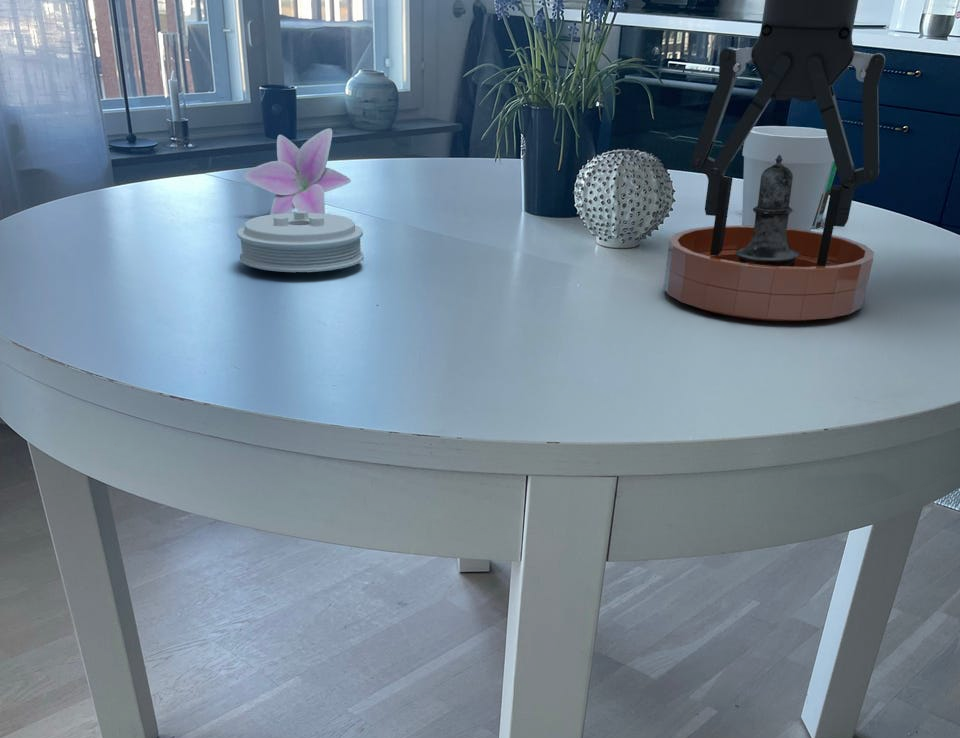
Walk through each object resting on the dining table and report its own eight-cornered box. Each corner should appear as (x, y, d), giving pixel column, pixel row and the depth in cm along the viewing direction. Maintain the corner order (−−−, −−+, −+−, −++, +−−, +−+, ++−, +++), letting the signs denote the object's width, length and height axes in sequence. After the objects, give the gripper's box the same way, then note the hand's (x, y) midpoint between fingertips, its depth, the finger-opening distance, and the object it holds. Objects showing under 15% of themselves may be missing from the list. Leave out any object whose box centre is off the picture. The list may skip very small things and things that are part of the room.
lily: (240, 224, 128) (226, 157, 120) (302, 175, 133) (293, 107, 124) (311, 267, 125) (302, 201, 116) (373, 216, 130) (368, 149, 121)
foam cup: (760, 276, 106) (783, 139, 99) (709, 257, 113) (727, 127, 106) (832, 269, 109) (859, 135, 102) (778, 251, 116) (800, 125, 109)
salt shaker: (778, 283, 100) (796, 149, 94) (804, 297, 96) (825, 157, 89) (722, 286, 100) (736, 152, 93) (745, 300, 95) (761, 159, 88)
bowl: (865, 287, 103) (877, 235, 100) (856, 336, 88) (869, 277, 85) (683, 269, 108) (689, 219, 105) (646, 312, 93) (652, 255, 90)
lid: (215, 272, 103) (209, 219, 100) (287, 248, 112) (283, 200, 110) (321, 288, 98) (317, 233, 95) (386, 262, 108) (385, 211, 105)
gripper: (676, -31, 84) (646, 254, 96) (958, -25, 78) (888, 278, 90) (692, -29, 90) (662, 239, 102) (955, -24, 84) (890, 260, 96)
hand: (768, 257), depth 96 cm, fingers open, 9 cm apart
